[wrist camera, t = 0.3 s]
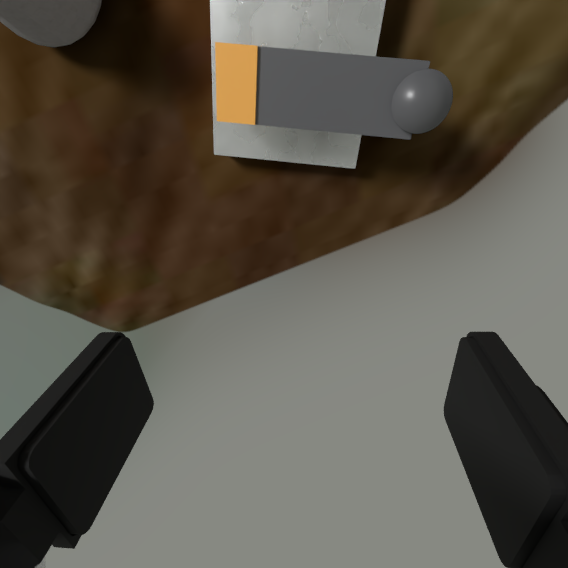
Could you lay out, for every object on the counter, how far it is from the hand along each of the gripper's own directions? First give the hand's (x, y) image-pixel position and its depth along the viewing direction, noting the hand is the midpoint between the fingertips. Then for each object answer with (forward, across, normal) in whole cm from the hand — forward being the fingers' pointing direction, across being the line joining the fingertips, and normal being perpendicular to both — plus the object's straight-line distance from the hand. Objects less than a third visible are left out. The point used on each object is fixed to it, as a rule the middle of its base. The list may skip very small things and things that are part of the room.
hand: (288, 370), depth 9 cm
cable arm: (+25, -2, -7) cm, 26 cm away
